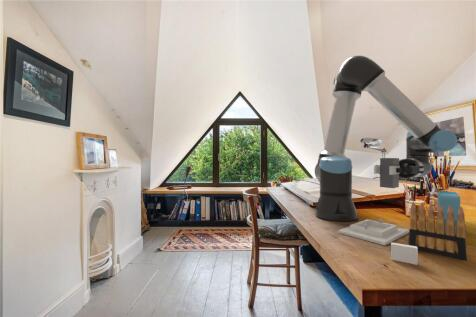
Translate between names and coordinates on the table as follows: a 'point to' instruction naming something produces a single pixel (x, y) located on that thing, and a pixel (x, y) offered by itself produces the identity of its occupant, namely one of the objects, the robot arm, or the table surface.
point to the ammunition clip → (438, 232)
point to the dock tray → (374, 231)
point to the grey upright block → (385, 178)
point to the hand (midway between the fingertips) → (382, 170)
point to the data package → (449, 204)
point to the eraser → (404, 253)
